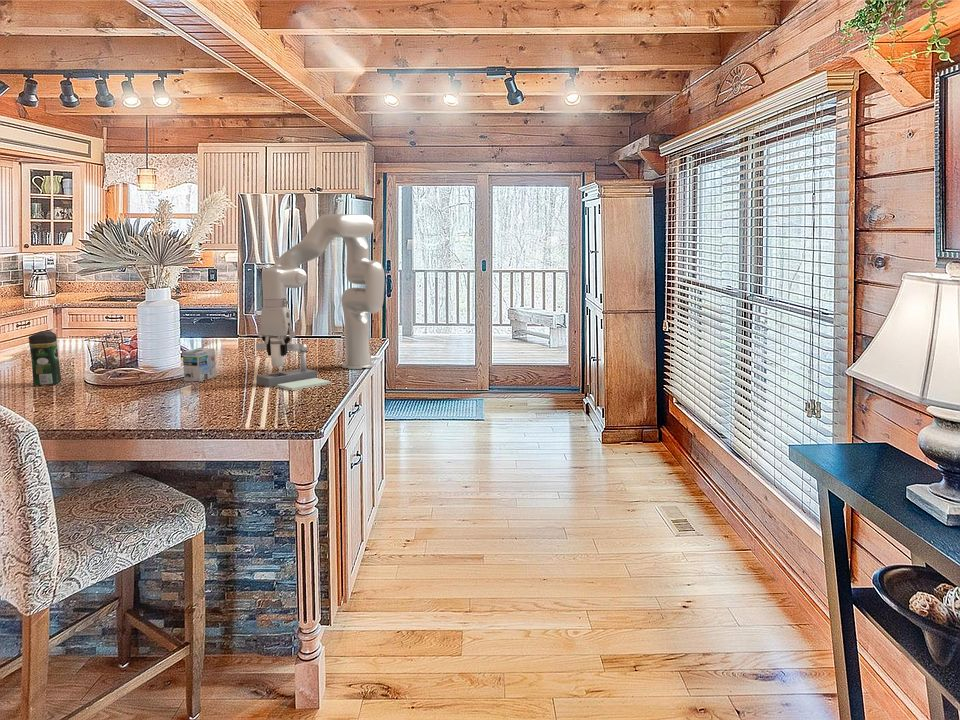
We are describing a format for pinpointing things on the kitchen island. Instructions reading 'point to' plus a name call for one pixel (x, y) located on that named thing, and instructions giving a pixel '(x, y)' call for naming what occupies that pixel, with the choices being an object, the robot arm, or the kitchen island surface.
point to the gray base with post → (287, 375)
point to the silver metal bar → (289, 347)
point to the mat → (303, 384)
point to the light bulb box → (199, 364)
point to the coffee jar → (44, 358)
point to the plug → (276, 352)
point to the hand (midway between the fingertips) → (277, 354)
